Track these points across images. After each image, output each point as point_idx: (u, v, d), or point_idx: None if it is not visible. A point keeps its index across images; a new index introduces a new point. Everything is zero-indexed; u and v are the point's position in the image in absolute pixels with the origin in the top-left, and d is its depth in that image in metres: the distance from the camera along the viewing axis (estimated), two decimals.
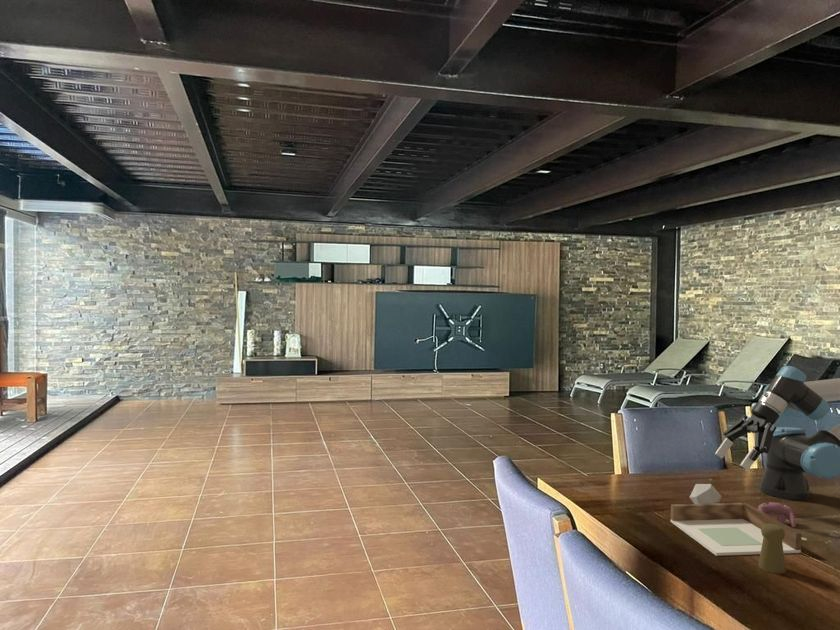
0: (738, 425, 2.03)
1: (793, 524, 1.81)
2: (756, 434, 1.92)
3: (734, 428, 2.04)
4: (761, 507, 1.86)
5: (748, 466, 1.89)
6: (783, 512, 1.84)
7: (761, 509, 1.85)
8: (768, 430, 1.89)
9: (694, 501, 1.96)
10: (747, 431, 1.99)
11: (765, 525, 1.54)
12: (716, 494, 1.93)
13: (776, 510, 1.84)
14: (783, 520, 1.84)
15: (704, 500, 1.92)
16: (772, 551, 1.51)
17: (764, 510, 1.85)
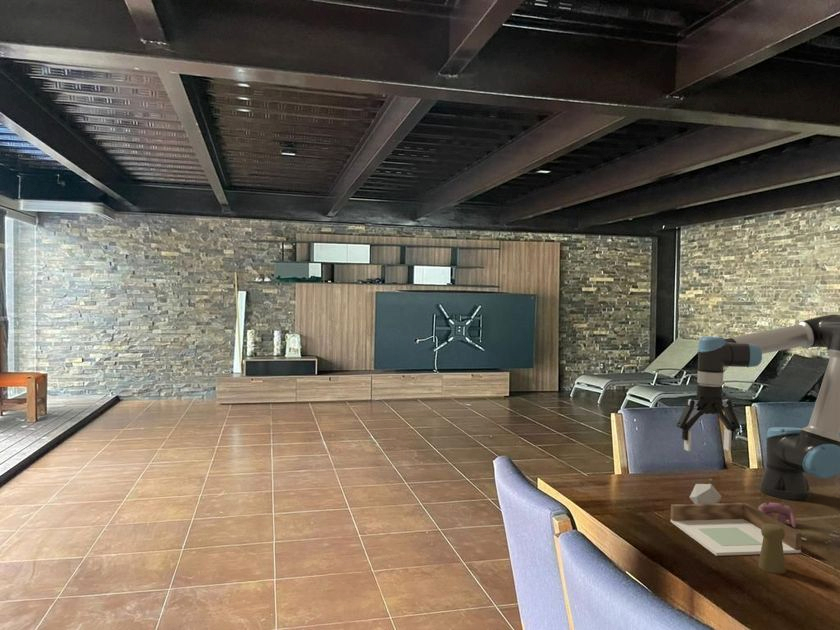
0: (727, 412, 1.96)
1: (793, 524, 1.80)
2: None
3: (728, 416, 1.97)
4: (761, 507, 1.85)
5: (687, 447, 1.94)
6: (783, 512, 1.84)
7: (761, 509, 1.85)
8: (686, 406, 1.95)
9: (694, 501, 1.96)
10: (719, 414, 1.95)
11: (765, 525, 1.54)
12: (716, 494, 1.93)
13: (776, 510, 1.84)
14: (783, 520, 1.84)
15: (704, 500, 1.92)
16: (772, 551, 1.51)
17: (764, 510, 1.85)
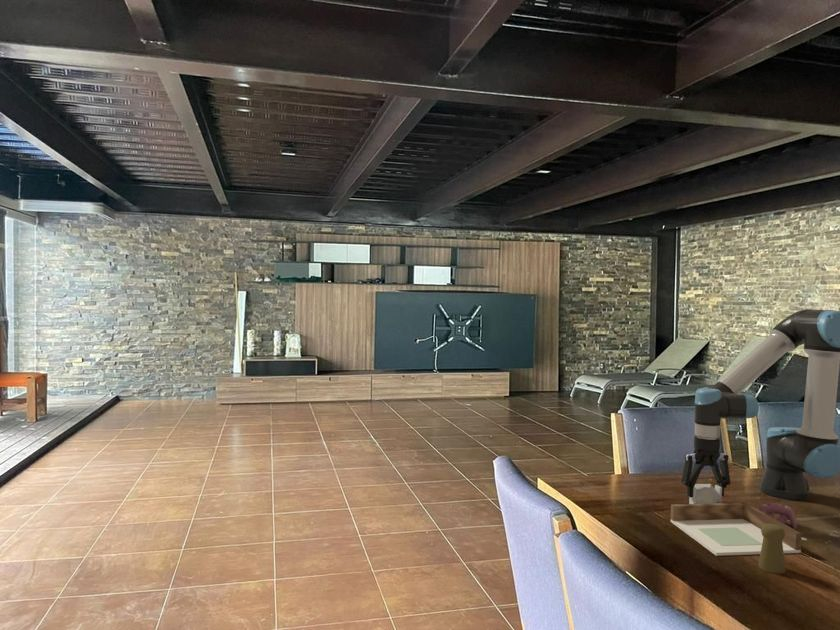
0: (721, 466, 1.97)
1: (794, 525, 1.80)
2: None
3: (722, 471, 1.97)
4: (762, 508, 1.85)
5: None
6: (784, 513, 1.83)
7: (762, 510, 1.84)
8: (685, 462, 1.96)
9: None
10: (713, 467, 1.95)
11: (765, 525, 1.54)
12: (716, 494, 1.93)
13: (777, 511, 1.83)
14: (784, 521, 1.83)
15: (704, 500, 1.92)
16: (772, 551, 1.51)
17: (765, 511, 1.84)
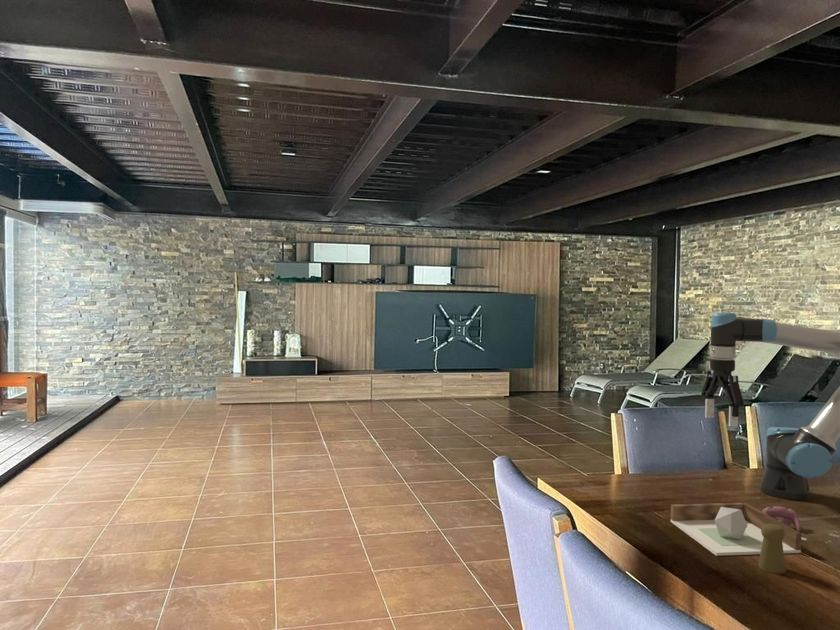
0: (708, 382, 2.09)
1: (798, 528, 1.77)
2: (725, 390, 1.98)
3: (707, 386, 2.10)
4: (765, 511, 1.82)
5: (736, 423, 1.96)
6: (788, 516, 1.80)
7: (765, 513, 1.82)
8: (732, 383, 1.95)
9: (738, 533, 1.68)
10: (718, 385, 2.06)
11: (765, 525, 1.54)
12: None
13: (781, 514, 1.81)
14: (788, 524, 1.80)
15: None
16: (772, 551, 1.51)
17: (768, 514, 1.82)
